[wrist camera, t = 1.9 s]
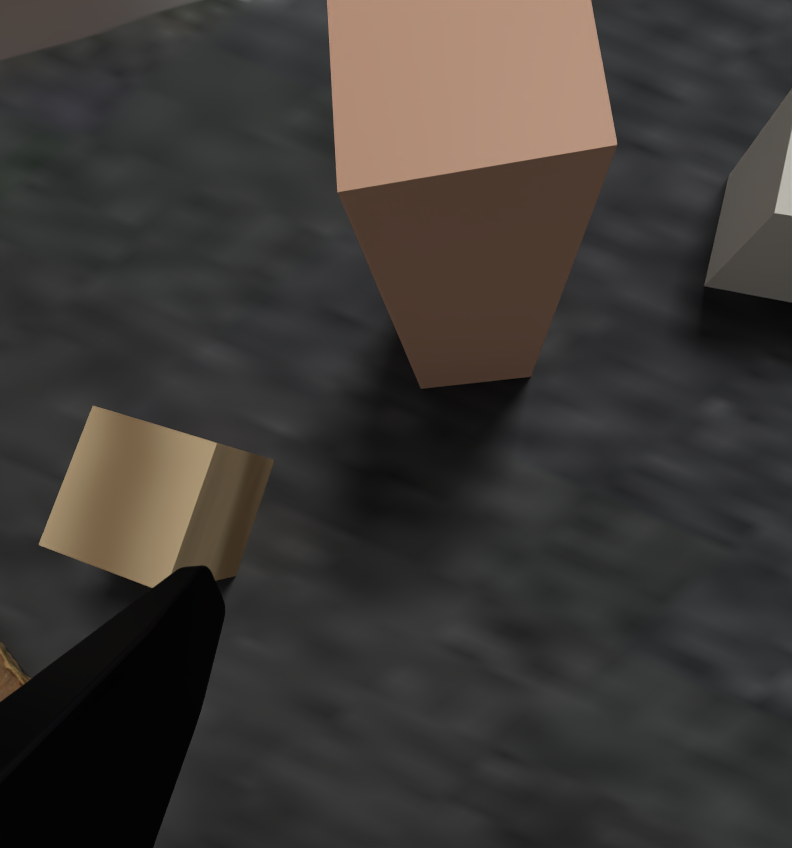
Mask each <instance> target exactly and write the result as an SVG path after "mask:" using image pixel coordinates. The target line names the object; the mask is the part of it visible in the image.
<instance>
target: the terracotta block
mask: <svg viewBox="0 0 792 848" xmlns="http://www.w3.org/2000/svg"><path fill="white" fill-rule="evenodd" d="M327 7H328V25H329V44H330V62H331V81H332V99H333V118H334V136H335V155H336V174H337V192H338V195H339V197H340V199H341V202H342V204H343V206H344V209H345V211H346V213H347V216H348V218H349V220H350V223H351V225H352V228H353V230H354V232H355V235H356V237H357V239H358V242H359V244H360V246H361V249H362V251H363V253H364V256H365V258H366V261H367V263H368V265H369V268H370V270H371V272H372V275H373V277H374V279H375V282H376V284H377V287H378V289H379V291H380V294H381V296H382V298H383V301H384V303H385V305H386V308H387V310H388V312H389V315H390V317H391V320H392V322H393V324H394V327H395V329H396V331H397V334H398V336H399V338H400V341H401V343H402V346H403V348H404V350H405V353H406V355H407V357H408V360H409V362H410V364H411V367H412V369H413V371H414V374H415V376H416V379H417V381H418V383H419V386H420V388H421V389H424V388H433V387H442V386H452V385H461V384H470V383H479V382H488V381H497V380H506V379H515V378H524V377H531V375H532V372H533V369H534V367H535V364H536V361H537V359H538V356H539V353H540V351H541V348H542V345H543V343H544V340H545V337H546V335H547V332H548V329H549V327H550V324H551V321H552V319H553V316H554V313H555V310H556V308H557V305H558V302H559V300H560V297H561V294H562V292H563V289H564V286H565V284H566V281H567V278H568V276H569V273H570V270H571V268H572V265H573V262H574V260H575V257H576V254H577V252H578V249H579V246H580V244H581V241H582V238H583V235H584V233H585V230H586V227H587V225H588V222H589V219H590V217H591V214H592V211H593V209H594V206H595V203H596V201H597V198H598V195H599V193H600V190H601V187H602V185H603V182H604V179H605V177H606V174H607V171H608V168H609V166H610V163H611V160H612V158H613V155H614V152H615V150H616V147H617V140H616V135H615V129H614V124H613V118H612V113H611V108H610V102H609V97H608V91H607V86H606V80H605V75H604V69H603V64H602V58H601V53H600V48H599V42H598V37H597V31H596V26H595V20H594V15H593V9H592V4H591V0H327Z"/></svg>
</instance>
